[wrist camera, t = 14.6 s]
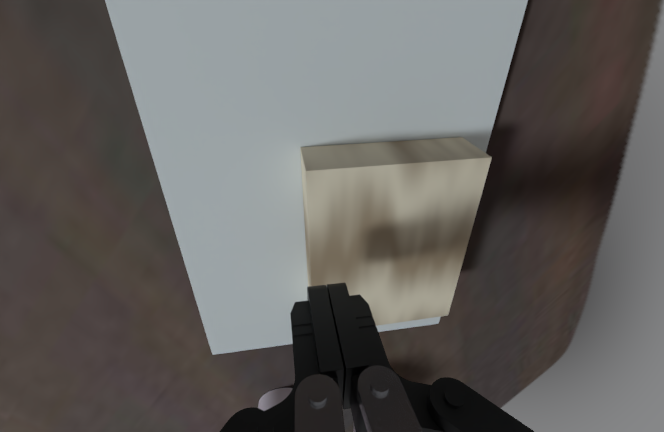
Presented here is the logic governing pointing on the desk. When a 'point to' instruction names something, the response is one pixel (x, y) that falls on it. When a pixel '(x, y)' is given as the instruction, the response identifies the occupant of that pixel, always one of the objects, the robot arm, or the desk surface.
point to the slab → (392, 221)
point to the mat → (292, 122)
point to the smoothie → (273, 398)
